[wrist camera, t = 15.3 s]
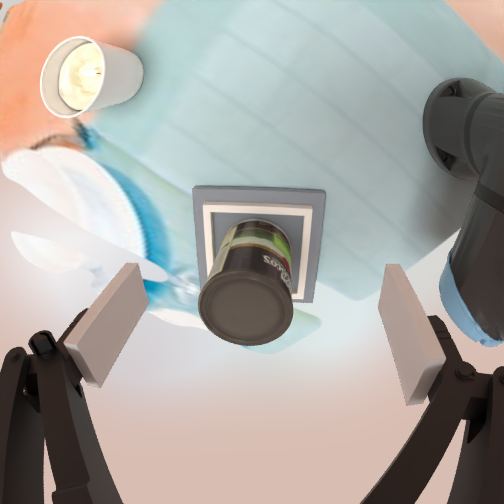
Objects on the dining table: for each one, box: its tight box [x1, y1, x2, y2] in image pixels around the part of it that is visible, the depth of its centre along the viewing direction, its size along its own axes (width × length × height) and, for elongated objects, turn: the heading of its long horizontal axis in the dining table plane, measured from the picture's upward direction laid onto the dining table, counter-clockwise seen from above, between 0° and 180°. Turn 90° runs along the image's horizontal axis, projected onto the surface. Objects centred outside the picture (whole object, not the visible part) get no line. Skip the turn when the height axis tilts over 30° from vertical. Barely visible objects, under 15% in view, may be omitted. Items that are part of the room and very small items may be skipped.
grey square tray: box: [192, 186, 325, 303], centre depth 45 cm, size 18×18×3 cm
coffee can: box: [198, 218, 293, 346], centre depth 39 cm, size 10×10×14 cm
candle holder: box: [40, 36, 144, 118], centre depth 31 cm, size 10×10×12 cm
